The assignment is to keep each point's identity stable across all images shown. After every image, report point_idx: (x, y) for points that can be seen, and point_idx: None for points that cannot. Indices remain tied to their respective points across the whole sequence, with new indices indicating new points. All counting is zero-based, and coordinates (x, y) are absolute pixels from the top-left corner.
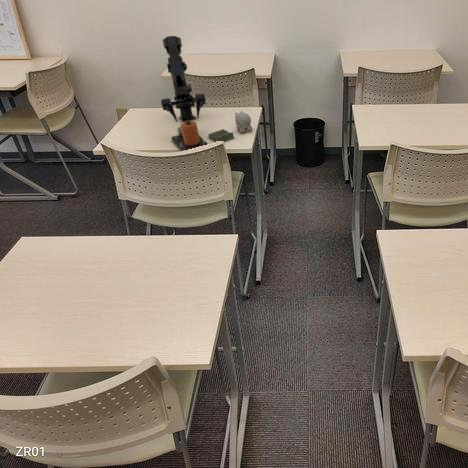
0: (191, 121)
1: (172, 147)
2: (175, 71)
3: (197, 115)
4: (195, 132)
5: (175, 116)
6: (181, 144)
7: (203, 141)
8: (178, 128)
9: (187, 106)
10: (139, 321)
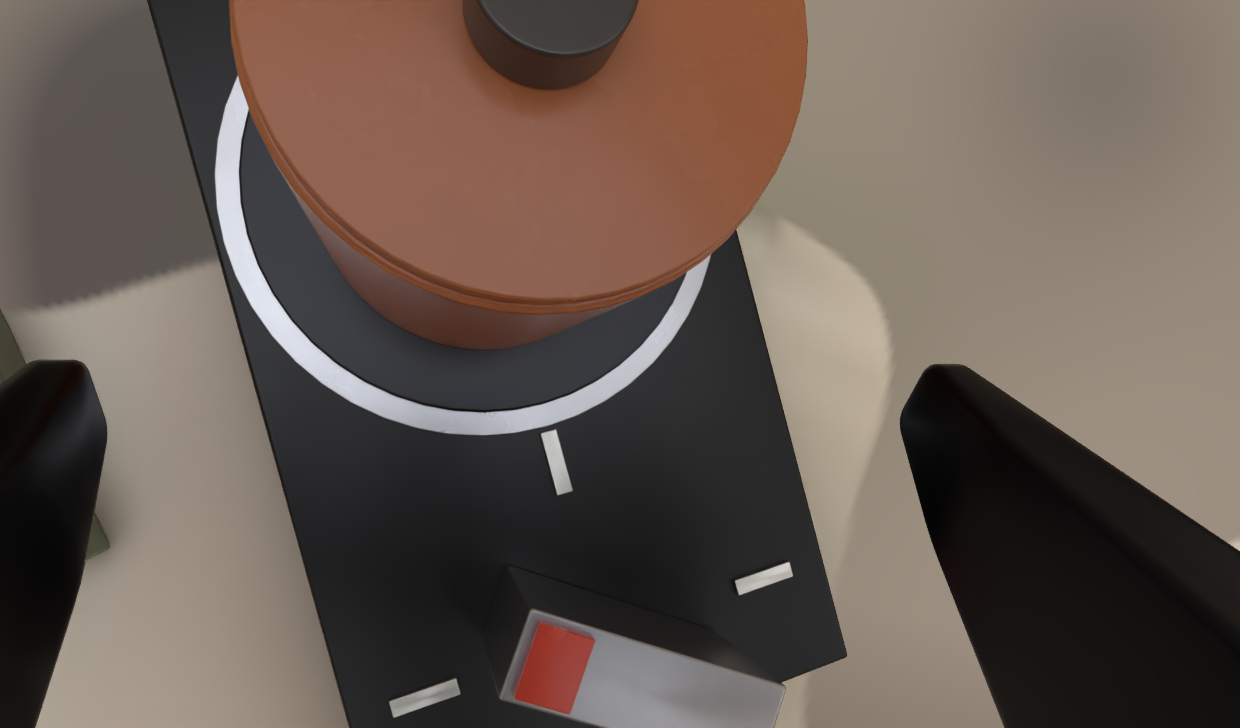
0: (409, 223)
1: (817, 362)
2: None
3: (23, 422)
4: None
5: (1057, 465)
6: None
7: (239, 156)
8: (758, 679)
9: None
10: None
